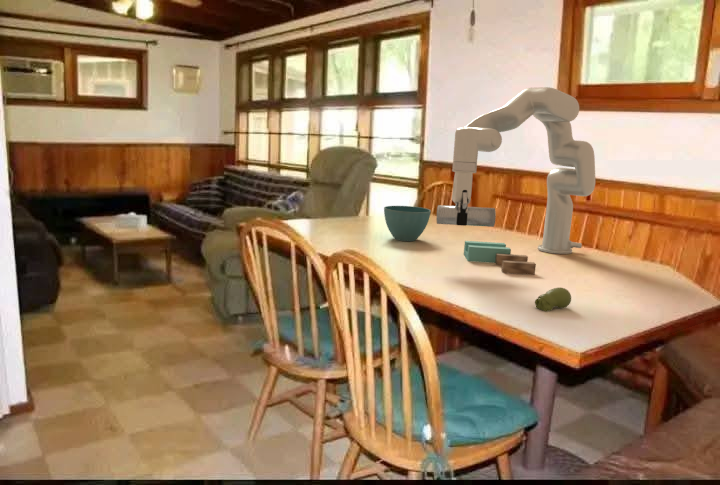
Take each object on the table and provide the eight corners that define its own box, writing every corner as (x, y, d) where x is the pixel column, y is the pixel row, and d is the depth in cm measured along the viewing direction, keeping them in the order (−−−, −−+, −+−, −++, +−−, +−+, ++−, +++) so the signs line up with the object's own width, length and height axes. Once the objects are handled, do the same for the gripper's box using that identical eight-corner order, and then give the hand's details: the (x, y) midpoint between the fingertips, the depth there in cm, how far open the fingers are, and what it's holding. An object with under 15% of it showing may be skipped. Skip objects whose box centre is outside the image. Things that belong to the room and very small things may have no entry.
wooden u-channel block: (525, 265, 198) (526, 255, 197) (534, 274, 186) (535, 264, 185) (495, 263, 198) (496, 253, 198) (502, 272, 186) (503, 262, 185)
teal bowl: (398, 233, 246) (400, 204, 243) (436, 240, 235) (439, 209, 233) (373, 238, 231) (375, 207, 229) (413, 246, 221) (415, 213, 218)
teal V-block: (502, 256, 210) (504, 243, 209) (509, 263, 199) (510, 249, 198) (463, 254, 211) (464, 240, 210) (468, 261, 200) (469, 246, 199)
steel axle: (491, 224, 193) (492, 206, 191) (494, 228, 187) (496, 209, 186) (436, 222, 193) (437, 203, 192) (437, 225, 187) (439, 206, 186)
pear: (576, 288, 149) (545, 298, 145) (575, 308, 151) (545, 318, 147) (560, 283, 154) (529, 291, 150) (560, 301, 156) (530, 311, 152)
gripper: (449, 164, 195) (445, 218, 199) (456, 168, 178) (451, 227, 182) (472, 166, 195) (467, 219, 198) (480, 170, 178) (475, 228, 181)
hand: (460, 222), depth 190 cm, fingers closed on steel axle, 6 cm apart
